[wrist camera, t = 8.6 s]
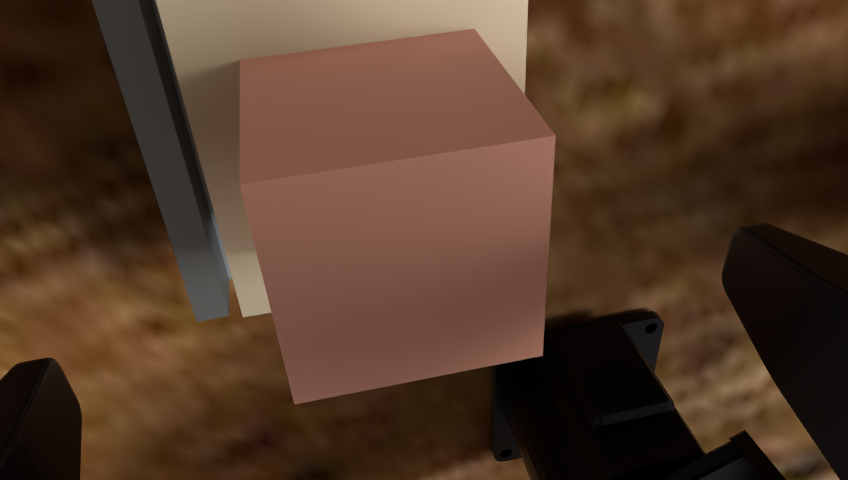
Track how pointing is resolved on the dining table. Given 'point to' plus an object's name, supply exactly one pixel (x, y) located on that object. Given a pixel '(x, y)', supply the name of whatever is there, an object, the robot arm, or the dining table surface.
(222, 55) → the beige slotted block
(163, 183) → the dock
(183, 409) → the dining table surface
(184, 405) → the dining table surface
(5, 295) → the dining table surface
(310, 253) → the block
